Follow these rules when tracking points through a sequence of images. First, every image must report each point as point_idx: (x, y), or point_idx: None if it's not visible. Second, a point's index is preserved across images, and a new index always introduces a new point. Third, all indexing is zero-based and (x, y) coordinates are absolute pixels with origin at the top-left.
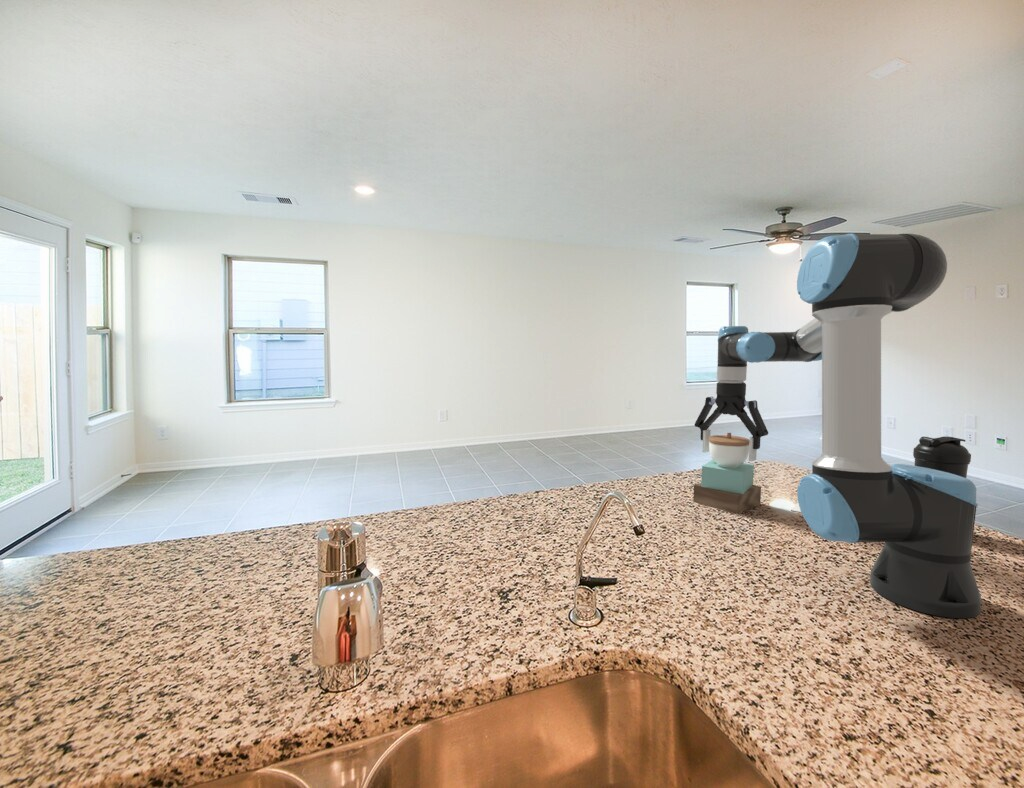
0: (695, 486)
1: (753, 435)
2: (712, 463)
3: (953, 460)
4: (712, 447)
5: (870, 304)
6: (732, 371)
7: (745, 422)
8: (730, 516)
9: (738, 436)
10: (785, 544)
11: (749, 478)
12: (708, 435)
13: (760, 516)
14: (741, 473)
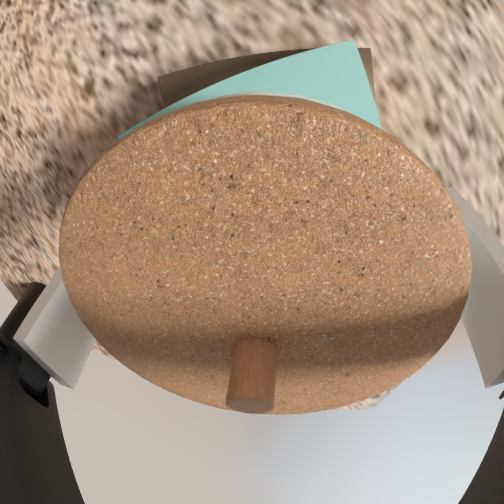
0: (360, 48)
1: (6, 356)
2: None
3: None
4: (334, 105)
5: None
6: None
7: (2, 473)
8: (177, 37)
9: (268, 412)
10: (24, 46)
11: None
12: (484, 323)
13: (140, 119)
14: (129, 129)
